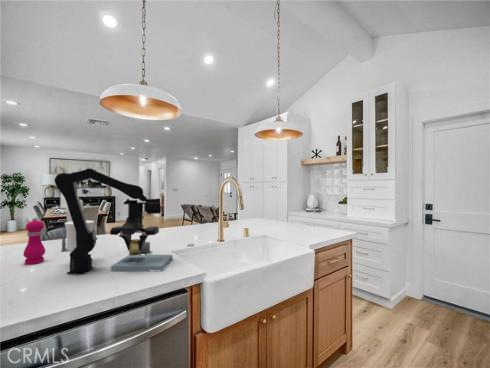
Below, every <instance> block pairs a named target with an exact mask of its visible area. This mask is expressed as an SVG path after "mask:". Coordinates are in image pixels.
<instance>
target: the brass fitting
mask: <svg viewBox="0 0 490 368" xmlns="http://www.w3.org/2000/svg"><path fill="white" fill-rule="evenodd" d="M139 246H140V238H134V239H133V238H131V240H129V251H128V253H129V254H128V255H132V256H134V255H139V254H140V250H139Z"/></svg>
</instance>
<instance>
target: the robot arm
mask: <svg viewBox="0 0 490 368" xmlns="http://www.w3.org/2000/svg"><path fill="white" fill-rule="evenodd" d="M90 179H91V180H93V181H95V182H98V183H101V184H103V185H105V186H108V187H111V188H113V189H114V190H115V189H116V190H118V191H120V192H121V193H123V194H124V195H126V196H128V197H129V198H131V199H132V200H131V199H129V198H126V200H125V201H123V205H128V206H127V208H128V210H127V211H128V212H127V217H126V221H125V222H124V223H123V224H122V225H120V226H119V225H117V226H114V227H112V228H111V229H110V232H109V233H110V235H111V236H118V237H119V238H122V240H123V241H124V243H125V245H126V249H127V251H128V252H129V240H132V236H133V235H135V233H136V234H137V233H140V235H139V239H140V246H139V250H140V251H141V250H142V247H143V245H144V243H145V242H146V241H147V239H148V236H156V235H157V234H159V233H160V228H159V227H158V226H152V225H151V226H148V227H145V228H144V224H143V223H144V222H143V219H144V218H145V216H144V214H143V212H144V213H145V212H146V214H147V215H148V214H149V215H157V214H159V215H160V214H161V212H162V206H161V199H160V198H159V197H158V198H147V196H145V194H144V190H143V188H142V187H141V186H140V185H135V184H132V183H127V182H123V181H120V180H118V179H116V178H114V177H111V176H109V175H106V174H104V173H101V172H99V171H96V170H95V169H93V168H91V167H90V168H86V169H83V170H79V171H78V170H77V171H75V172H71V173H67V172H62V173H59V174H57V175H56V176H55V178H54V183H55V186H56V187H57V189H58V190H59V192H60V193H61V194H62V196H63V198H64V199H65V202H66V207H67V206H68V209H69V212H70V215H71V218H72V221H73V224H74V227H75V230H76V246H77V247H76V248H75V249H74V250H73V251H72V252H71V253H69V271H66V274H68V275H74V274H75V275H77V274H78V275H81V274H86V273H88V272H89V271H91V270H92V269H94V267H93V258H92V254H90V252H92V251H93V249H94V248H95V247H96V244H97V240H98V237H97V236H96V231H95V230H94V229H93V230H92V231H90V230H89V228H88V227H87V223H86V218H85V214H84V212H83V211H82V208H81V205H80V202H81V201H79V200H80V198H79V199H78V197H79V196H78V184H79V183H81V182H85V181H87V180H90ZM138 200H139V201H141V202H138Z"/></svg>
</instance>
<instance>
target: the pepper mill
mask: <svg viewBox="0 0 490 368" xmlns="http://www.w3.org/2000/svg"><path fill="white" fill-rule="evenodd" d="M38 219H39V218H38V217H37V216H34V217H32V220H30V221H29V222H27V223H26V225H25V229H26V231H27V237H28V240H27V241H28V242H27V245H26V247H25V248H24V250H23V257H24V258H26V259H24V264H25V265H29V266H30V265H38V264H40V263H44V261H45V260H44V259H45V258H44V255H45V254H46V248H45V246H44V244H43V242H42V235H43V229H44V227H45V224H44V222H42V221H41V220H38Z"/></svg>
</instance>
